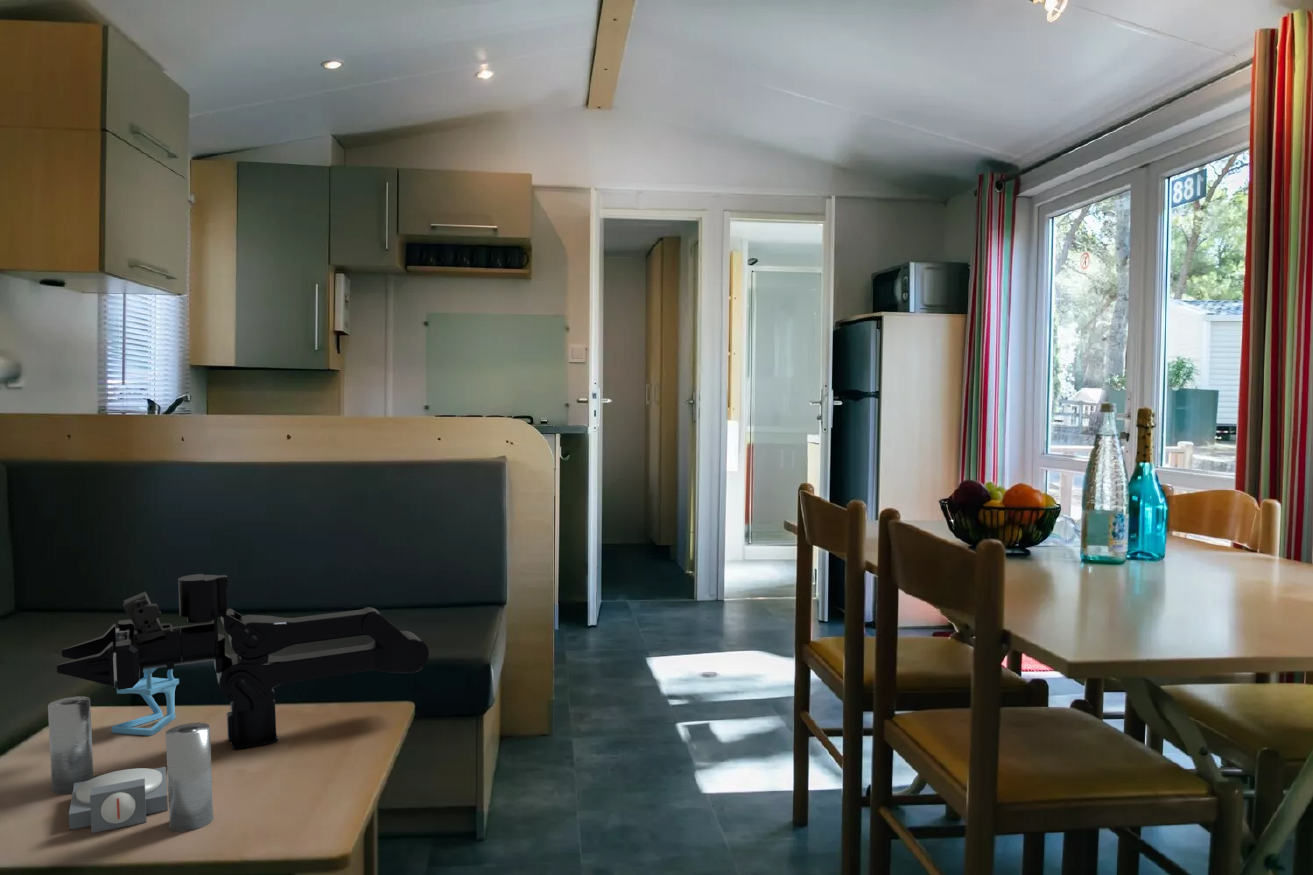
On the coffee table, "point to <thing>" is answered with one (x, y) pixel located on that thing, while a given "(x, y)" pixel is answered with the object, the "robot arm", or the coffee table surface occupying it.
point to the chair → (151, 703)
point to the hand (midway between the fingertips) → (59, 660)
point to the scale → (118, 799)
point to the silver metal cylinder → (189, 776)
